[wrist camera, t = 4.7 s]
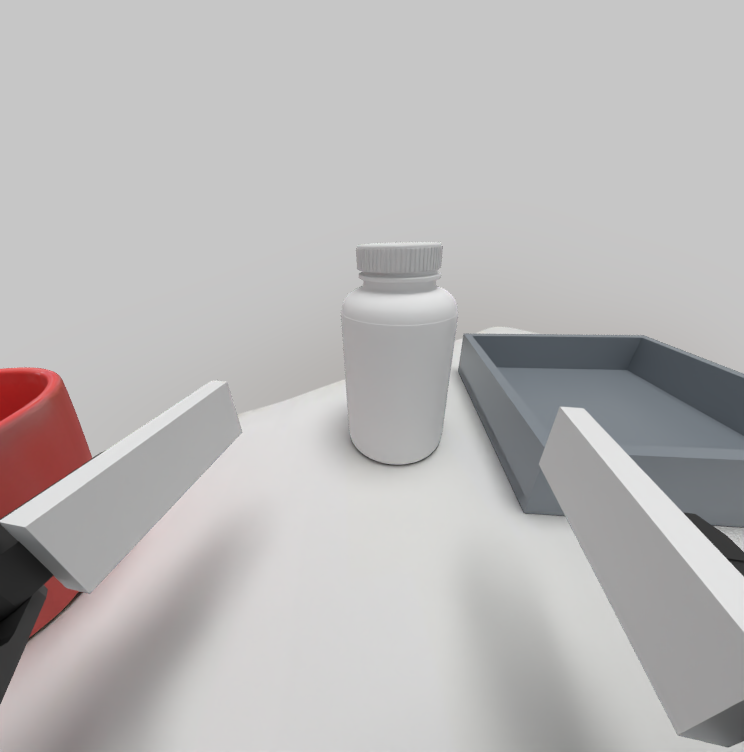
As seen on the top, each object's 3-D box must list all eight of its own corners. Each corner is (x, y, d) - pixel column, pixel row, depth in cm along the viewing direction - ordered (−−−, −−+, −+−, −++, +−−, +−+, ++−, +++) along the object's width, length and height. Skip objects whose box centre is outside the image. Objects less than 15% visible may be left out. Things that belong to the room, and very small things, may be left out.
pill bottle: (350, 473, 19) (333, 244, 13) (348, 411, 26) (336, 243, 20) (456, 464, 20) (493, 240, 13) (426, 405, 27) (440, 241, 20)
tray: (625, 374, 32) (643, 335, 30) (901, 537, 15) (997, 471, 12) (458, 371, 34) (463, 333, 32) (524, 512, 16) (546, 451, 14)
